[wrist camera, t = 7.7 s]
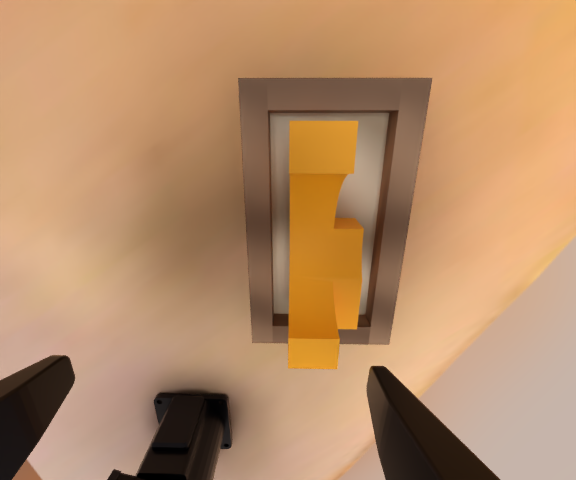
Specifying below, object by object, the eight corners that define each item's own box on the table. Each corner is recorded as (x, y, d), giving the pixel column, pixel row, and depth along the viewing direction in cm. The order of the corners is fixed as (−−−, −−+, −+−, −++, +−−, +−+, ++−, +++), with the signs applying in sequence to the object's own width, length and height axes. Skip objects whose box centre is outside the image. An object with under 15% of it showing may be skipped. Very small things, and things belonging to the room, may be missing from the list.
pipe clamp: (347, 301, 20) (370, 369, 14) (289, 300, 20) (288, 368, 14) (363, 128, 16) (405, 120, 10) (290, 128, 16) (289, 120, 10)
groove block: (381, 327, 22) (389, 344, 20) (255, 326, 22) (252, 342, 20) (416, 85, 16) (432, 77, 14) (244, 85, 16) (238, 78, 14)
